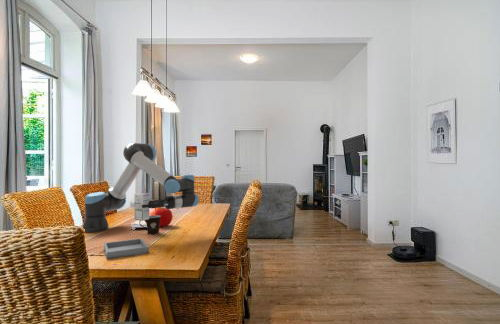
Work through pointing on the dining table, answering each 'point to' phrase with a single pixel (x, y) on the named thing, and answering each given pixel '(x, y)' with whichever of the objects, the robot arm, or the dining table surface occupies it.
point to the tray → (125, 248)
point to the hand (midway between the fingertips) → (132, 205)
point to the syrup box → (139, 199)
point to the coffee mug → (152, 224)
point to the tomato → (164, 216)
